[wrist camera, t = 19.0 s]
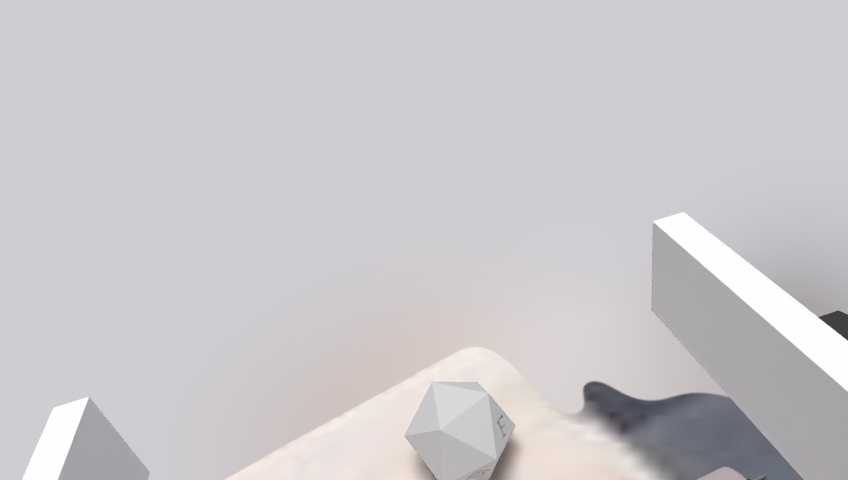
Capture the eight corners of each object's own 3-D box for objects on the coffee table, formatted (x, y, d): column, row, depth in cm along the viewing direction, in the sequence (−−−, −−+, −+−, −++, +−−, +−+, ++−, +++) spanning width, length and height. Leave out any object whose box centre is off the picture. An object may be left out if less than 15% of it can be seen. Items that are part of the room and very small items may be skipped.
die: (455, 529, 46) (516, 456, 42) (374, 459, 48) (425, 382, 44) (489, 470, 53) (544, 402, 49) (417, 411, 55) (464, 341, 51)
